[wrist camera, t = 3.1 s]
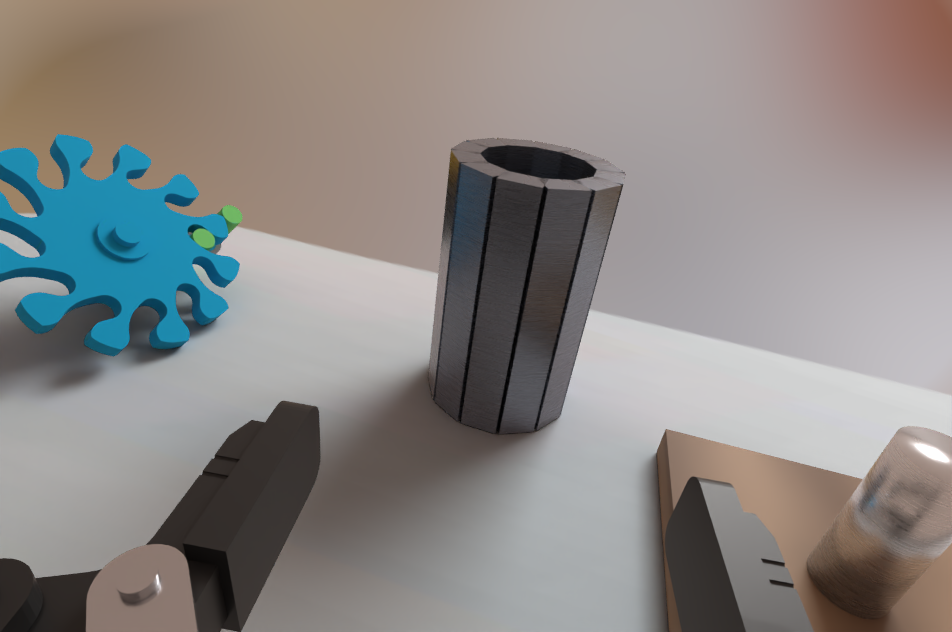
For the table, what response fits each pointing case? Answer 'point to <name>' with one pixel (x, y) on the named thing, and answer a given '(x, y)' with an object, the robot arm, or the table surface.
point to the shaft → (888, 526)
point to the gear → (113, 245)
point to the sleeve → (517, 278)
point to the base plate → (795, 528)
